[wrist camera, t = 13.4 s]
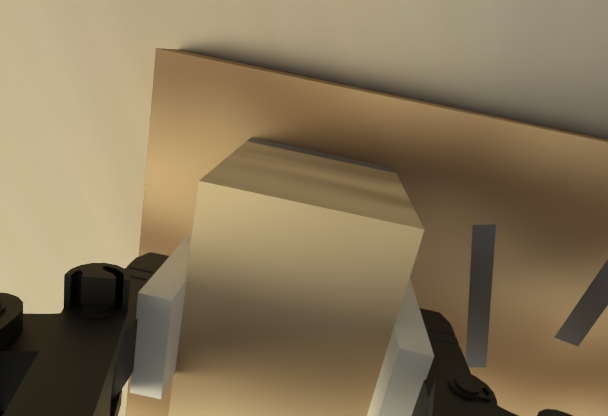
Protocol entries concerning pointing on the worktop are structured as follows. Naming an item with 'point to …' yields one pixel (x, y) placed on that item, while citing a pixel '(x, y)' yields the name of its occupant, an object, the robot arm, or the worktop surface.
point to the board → (421, 213)
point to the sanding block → (292, 284)
